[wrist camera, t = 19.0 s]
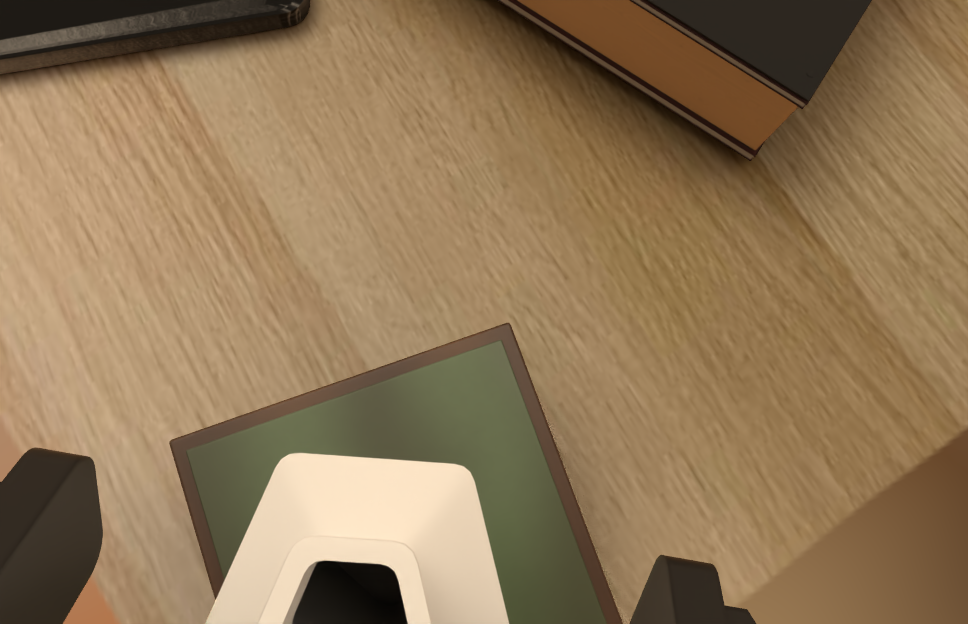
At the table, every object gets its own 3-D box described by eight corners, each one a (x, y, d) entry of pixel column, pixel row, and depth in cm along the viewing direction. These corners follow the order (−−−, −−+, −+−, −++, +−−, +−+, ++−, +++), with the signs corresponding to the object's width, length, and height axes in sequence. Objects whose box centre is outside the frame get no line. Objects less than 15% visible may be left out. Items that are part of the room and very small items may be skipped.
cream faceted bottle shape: (299, 482, 25) (108, 480, 10) (444, 446, 25) (465, 394, 10) (332, 642, 24) (176, 895, 9) (481, 601, 24) (560, 780, 10)
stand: (310, 701, 32) (264, 785, 23) (233, 451, 33) (163, 439, 25) (576, 595, 33) (630, 635, 24) (490, 360, 35) (510, 319, 26)
